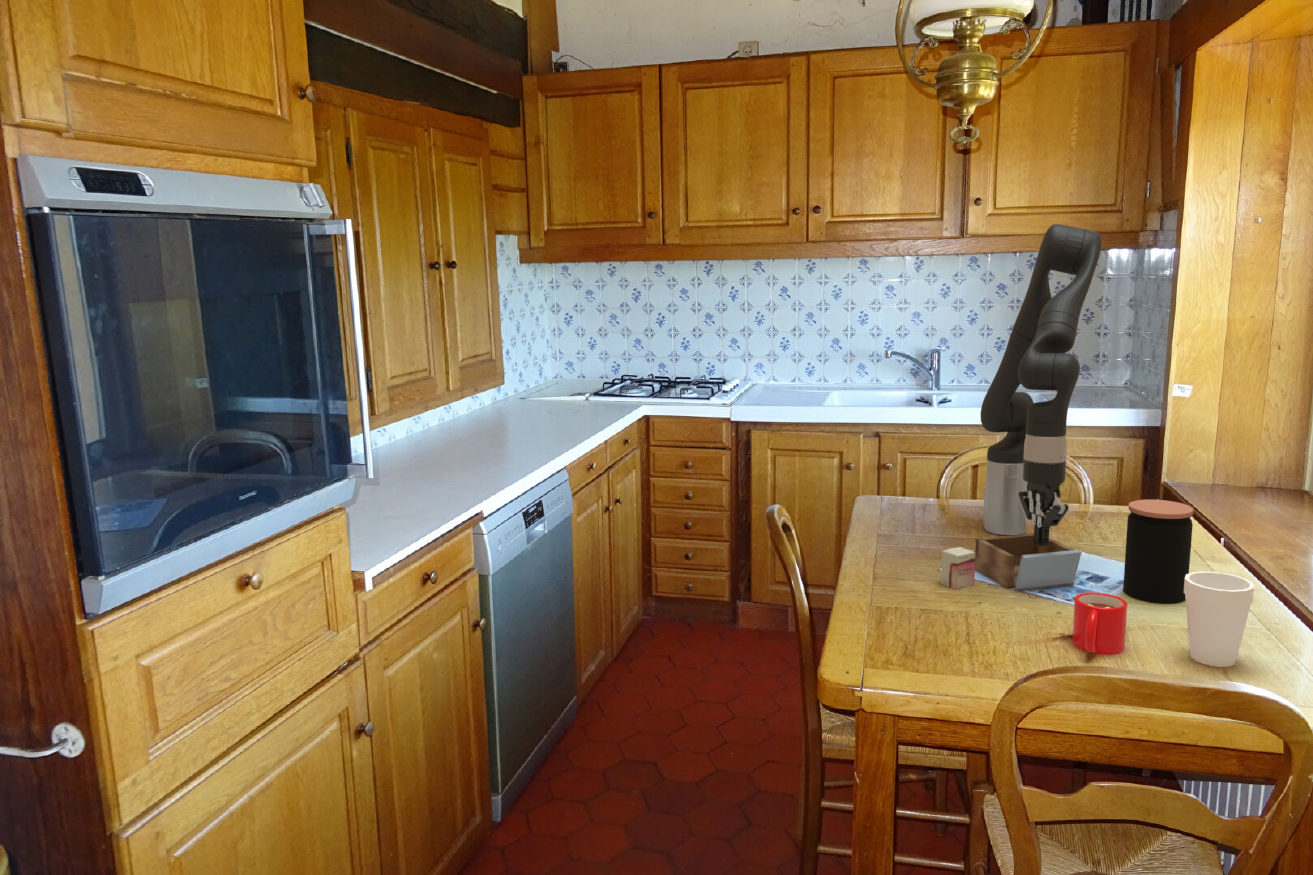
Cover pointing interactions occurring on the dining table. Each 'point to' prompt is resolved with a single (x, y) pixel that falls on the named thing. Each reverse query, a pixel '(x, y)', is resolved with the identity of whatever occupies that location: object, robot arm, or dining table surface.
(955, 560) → the small box
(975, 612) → the dining table surface
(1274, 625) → the dining table surface
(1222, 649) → the foam cup
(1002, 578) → the open wooden box
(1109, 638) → the mug
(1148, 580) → the coffee jar
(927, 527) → the dining table surface
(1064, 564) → the panel
